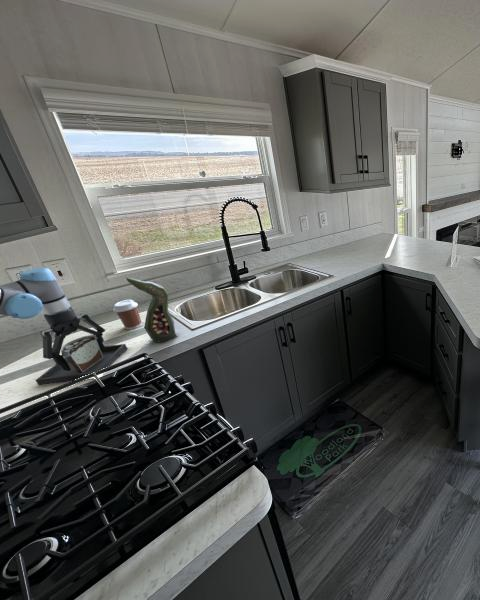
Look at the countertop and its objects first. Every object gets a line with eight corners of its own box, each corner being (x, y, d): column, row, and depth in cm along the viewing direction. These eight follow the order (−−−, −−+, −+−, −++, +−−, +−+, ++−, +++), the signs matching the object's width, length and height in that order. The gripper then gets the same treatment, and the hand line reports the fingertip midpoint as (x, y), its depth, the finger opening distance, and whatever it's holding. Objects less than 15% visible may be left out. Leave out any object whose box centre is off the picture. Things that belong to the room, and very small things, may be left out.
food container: (91, 355, 132) (80, 334, 127) (106, 355, 132) (95, 334, 127) (62, 375, 121) (49, 352, 116) (79, 374, 120) (66, 352, 116)
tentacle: (147, 340, 142) (119, 276, 129) (178, 328, 151) (154, 267, 138) (155, 346, 137) (127, 280, 124) (186, 334, 146) (163, 271, 133)
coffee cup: (122, 332, 149) (111, 309, 144) (121, 325, 155) (110, 302, 150) (146, 325, 154) (136, 302, 149) (144, 319, 161) (134, 296, 156)
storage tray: (96, 378, 119) (93, 373, 118) (38, 385, 116) (35, 380, 115) (127, 348, 136) (125, 343, 135) (77, 354, 134) (75, 349, 133)
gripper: (86, 295, 128) (110, 341, 137) (6, 326, 107) (41, 378, 117) (100, 296, 126) (124, 343, 135) (22, 329, 105) (56, 381, 115)
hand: (86, 359), depth 126 cm, fingers closed on food container, 12 cm apart
